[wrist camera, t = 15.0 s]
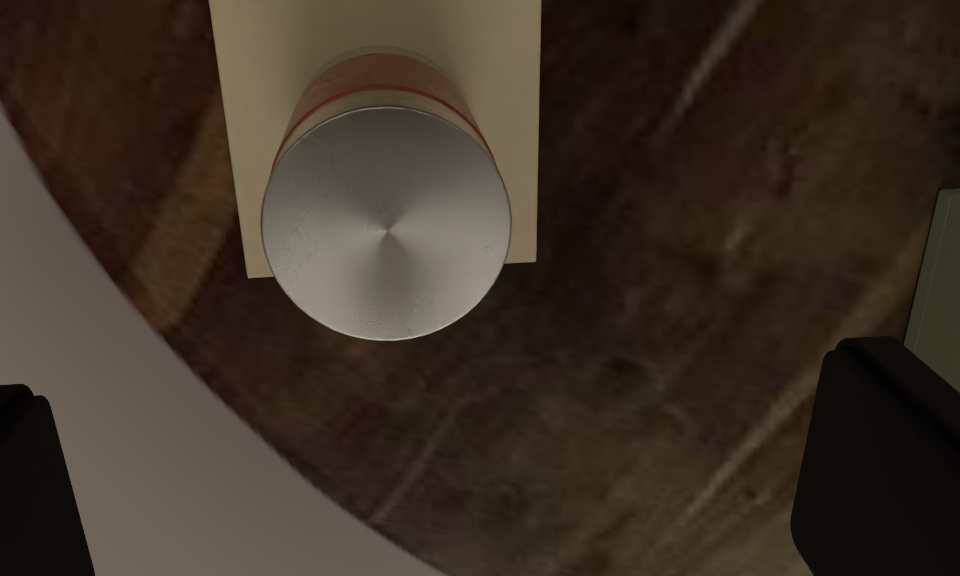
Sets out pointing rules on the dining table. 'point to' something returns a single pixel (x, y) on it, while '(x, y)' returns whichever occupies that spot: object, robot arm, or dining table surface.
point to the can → (384, 199)
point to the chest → (939, 294)
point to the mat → (379, 21)
